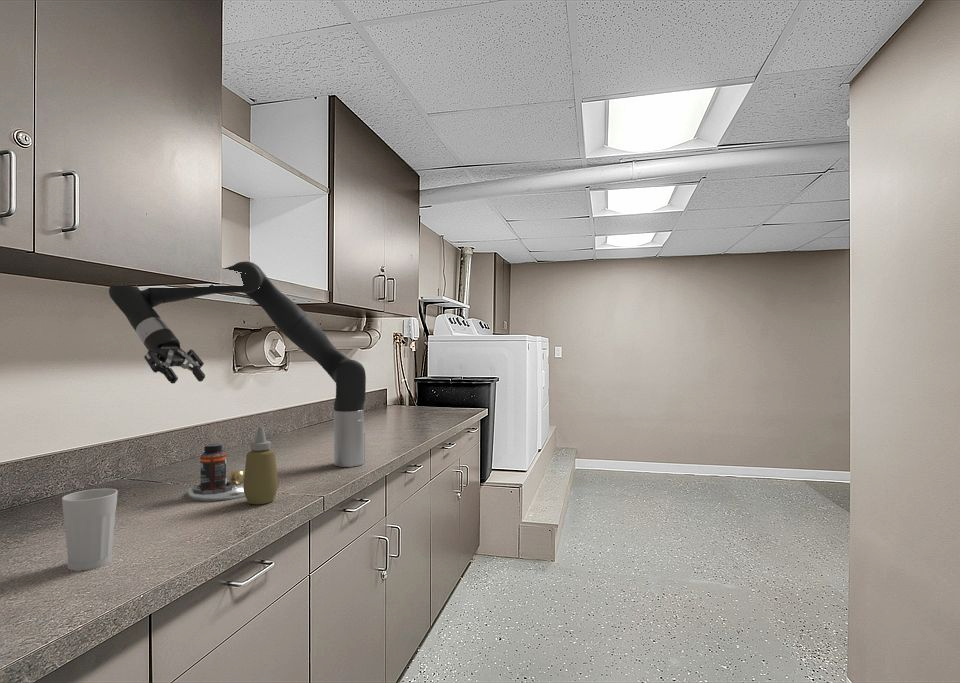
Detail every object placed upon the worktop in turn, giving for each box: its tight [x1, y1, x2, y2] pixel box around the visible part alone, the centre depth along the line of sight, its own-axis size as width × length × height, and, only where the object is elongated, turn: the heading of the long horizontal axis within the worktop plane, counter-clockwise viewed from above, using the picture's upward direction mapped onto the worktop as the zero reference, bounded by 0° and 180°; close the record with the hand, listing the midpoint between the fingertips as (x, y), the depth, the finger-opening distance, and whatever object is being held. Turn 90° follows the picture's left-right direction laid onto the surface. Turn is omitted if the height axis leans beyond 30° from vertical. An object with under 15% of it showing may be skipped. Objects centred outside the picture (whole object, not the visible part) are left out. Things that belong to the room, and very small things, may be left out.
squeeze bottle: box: [243, 426, 279, 505], centre depth 135 cm, size 8×8×18 cm
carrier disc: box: [187, 469, 246, 502], centre depth 143 cm, size 16×16×4 cm
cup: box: [61, 488, 119, 572], centre depth 97 cm, size 8×8×12 cm
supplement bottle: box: [199, 443, 227, 490], centre depth 141 cm, size 6×6×11 cm
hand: (189, 380), depth 148 cm, fingers open, 8 cm apart
